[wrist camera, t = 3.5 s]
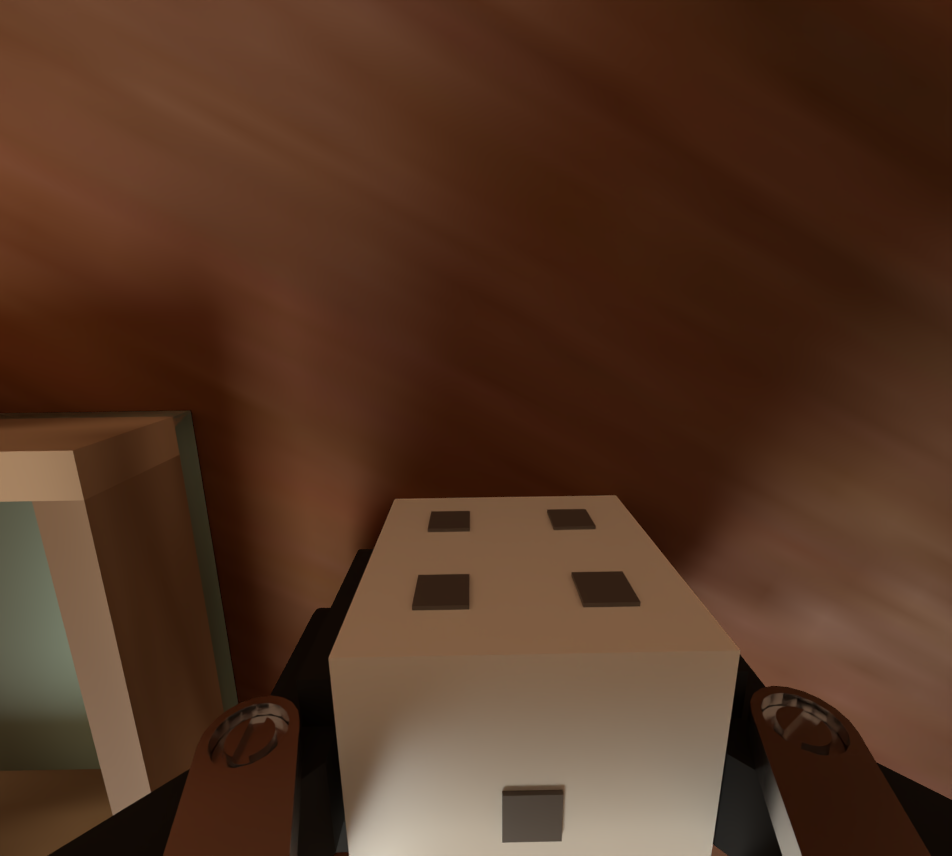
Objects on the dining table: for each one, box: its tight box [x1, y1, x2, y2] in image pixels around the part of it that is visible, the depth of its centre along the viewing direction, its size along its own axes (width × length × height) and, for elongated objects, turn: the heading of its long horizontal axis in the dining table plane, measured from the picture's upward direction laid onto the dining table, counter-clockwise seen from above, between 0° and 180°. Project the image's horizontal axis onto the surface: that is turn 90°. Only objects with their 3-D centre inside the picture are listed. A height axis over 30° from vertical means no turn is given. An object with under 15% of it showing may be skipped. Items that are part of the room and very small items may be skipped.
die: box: [328, 495, 740, 856], centre depth 9 cm, size 5×5×5 cm
